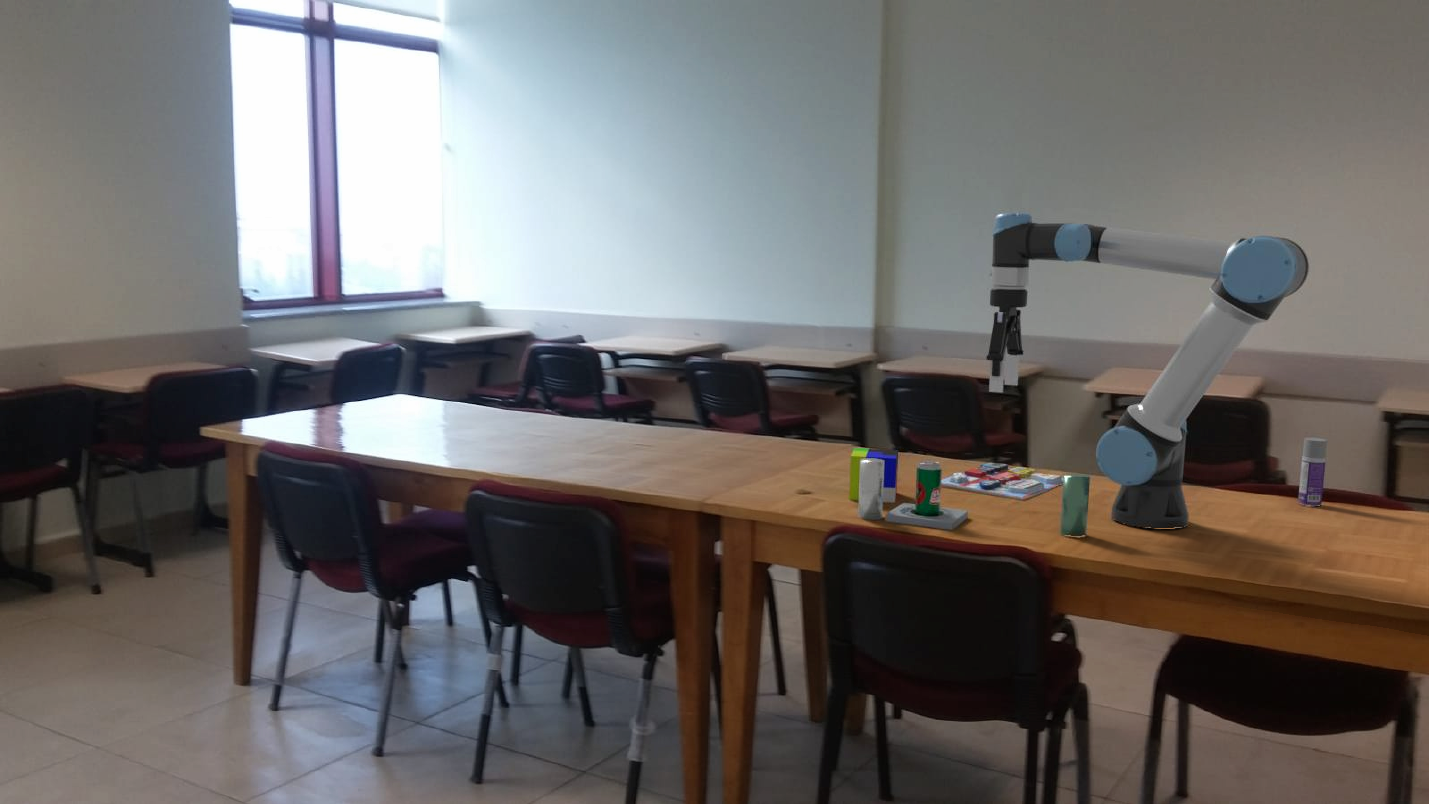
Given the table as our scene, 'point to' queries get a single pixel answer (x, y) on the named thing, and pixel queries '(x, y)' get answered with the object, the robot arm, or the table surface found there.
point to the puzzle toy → (889, 471)
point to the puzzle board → (1002, 481)
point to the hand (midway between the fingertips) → (1003, 388)
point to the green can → (1074, 504)
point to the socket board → (944, 521)
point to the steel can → (871, 489)
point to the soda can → (928, 489)
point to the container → (1312, 471)
